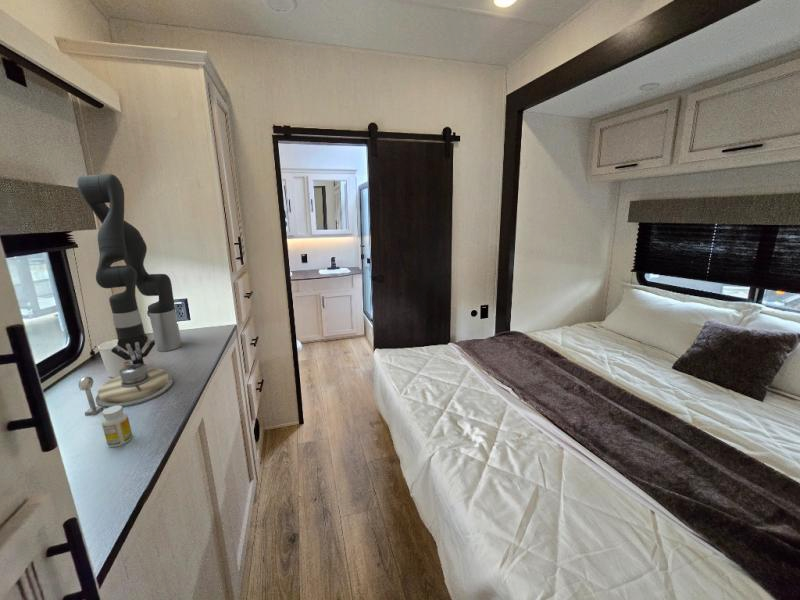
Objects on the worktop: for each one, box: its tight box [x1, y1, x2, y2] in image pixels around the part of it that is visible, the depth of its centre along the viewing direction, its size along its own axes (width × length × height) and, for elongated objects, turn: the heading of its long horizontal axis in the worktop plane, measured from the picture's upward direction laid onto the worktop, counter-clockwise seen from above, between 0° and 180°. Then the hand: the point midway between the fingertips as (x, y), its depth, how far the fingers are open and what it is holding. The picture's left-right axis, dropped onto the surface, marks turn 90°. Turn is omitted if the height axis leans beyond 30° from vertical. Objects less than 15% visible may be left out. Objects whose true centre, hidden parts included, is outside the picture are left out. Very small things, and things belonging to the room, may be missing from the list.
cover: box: [119, 363, 150, 388], centre depth 115 cm, size 8×8×5 cm
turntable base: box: [95, 374, 174, 409], centre depth 117 cm, size 21×21×1 cm
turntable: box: [97, 361, 169, 403], centre depth 116 cm, size 20×19×6 cm
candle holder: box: [97, 338, 133, 379], centre depth 128 cm, size 10×10×12 cm
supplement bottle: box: [101, 405, 133, 448], centre depth 91 cm, size 5×5×10 cm
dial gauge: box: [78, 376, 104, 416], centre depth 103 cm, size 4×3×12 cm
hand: (139, 368), depth 123 cm, fingers closed
